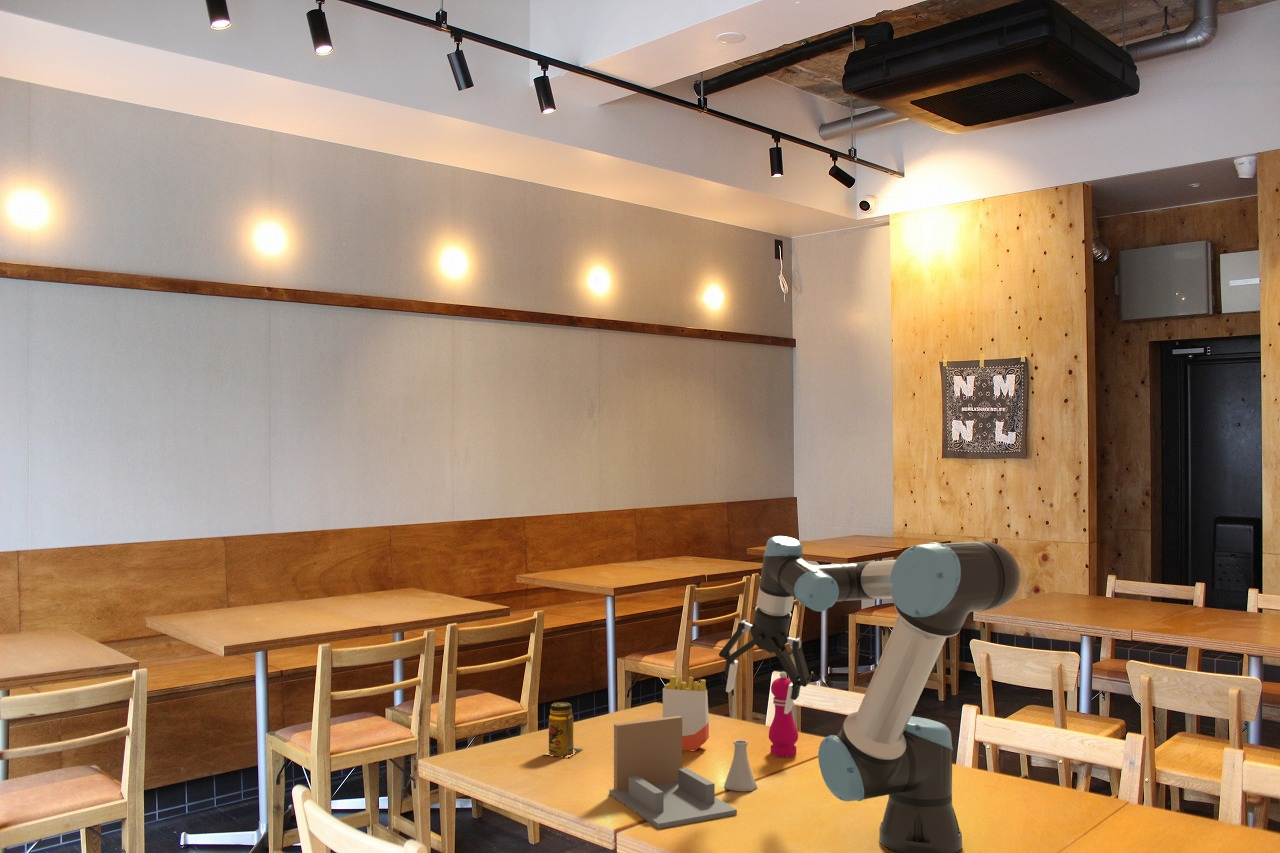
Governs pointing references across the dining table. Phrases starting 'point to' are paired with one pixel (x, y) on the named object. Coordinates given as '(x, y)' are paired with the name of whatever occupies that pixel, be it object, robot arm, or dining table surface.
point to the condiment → (561, 730)
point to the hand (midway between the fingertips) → (758, 700)
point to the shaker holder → (661, 775)
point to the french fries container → (688, 710)
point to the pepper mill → (782, 721)
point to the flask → (740, 770)
